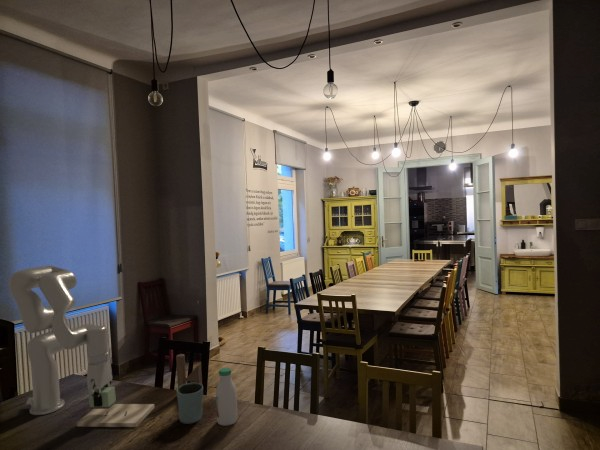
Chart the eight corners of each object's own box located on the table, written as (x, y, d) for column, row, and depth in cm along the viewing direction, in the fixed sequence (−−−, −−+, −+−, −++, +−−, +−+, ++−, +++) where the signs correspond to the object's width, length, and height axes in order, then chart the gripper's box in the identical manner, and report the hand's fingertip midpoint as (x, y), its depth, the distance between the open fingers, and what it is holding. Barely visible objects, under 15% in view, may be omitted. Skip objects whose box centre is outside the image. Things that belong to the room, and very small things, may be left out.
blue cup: (185, 410, 164) (184, 381, 164) (209, 412, 162) (207, 382, 162) (173, 424, 154) (171, 393, 154) (197, 425, 152) (196, 394, 152)
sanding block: (89, 409, 159) (88, 392, 159) (97, 403, 164) (96, 387, 164) (108, 408, 159) (107, 392, 158) (116, 402, 164) (114, 386, 163)
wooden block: (199, 398, 175) (197, 357, 174) (176, 397, 177) (174, 356, 176) (203, 394, 179) (200, 354, 178) (180, 393, 180) (178, 353, 180)
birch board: (76, 426, 155) (76, 422, 155) (99, 407, 170) (99, 403, 170) (136, 427, 153) (136, 423, 153) (154, 407, 168) (154, 404, 168)
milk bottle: (241, 417, 156) (239, 367, 156) (230, 428, 149) (227, 374, 149) (225, 414, 160) (222, 364, 159) (213, 424, 153) (210, 372, 152)
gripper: (102, 350, 170) (106, 393, 170) (76, 366, 153) (80, 413, 153) (119, 350, 169) (122, 393, 169) (94, 365, 152) (98, 413, 153)
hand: (102, 402), depth 161 cm, fingers closed on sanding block, 5 cm apart
